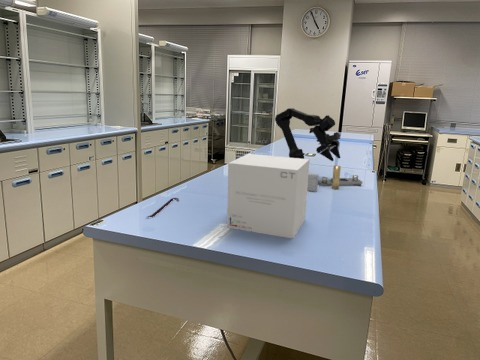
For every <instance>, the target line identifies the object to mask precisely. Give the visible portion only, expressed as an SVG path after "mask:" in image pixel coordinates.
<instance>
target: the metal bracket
mask: <svg viewBox="0 0 480 360" xmlns="http://www.w3.org/2000/svg"><path fill="white" fill-rule="evenodd" d="M332 179H333V177H331V178H330V179H328V177H327V176H321V180H320V179H318V185H319V186H321V187H327V186H328V187H332ZM362 184H363V181H362V180H361V179H359V175H357V174H353V175H352V177H340V180H339V187H340V186H341V187H353V186H358V187H360V186H362Z"/></svg>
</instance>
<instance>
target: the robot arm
mask: <svg viewBox="0 0 480 360" xmlns="http://www.w3.org/2000/svg"><path fill="white" fill-rule="evenodd" d="M293 118H295V119H298V120H300V121H302V122H304V124H305V125H307V126H308V127H309V134H313V135H314V136H315V138H316V142H317V143H319V144H320V145H319V146H317V148H316V149H315V150H316V153H317V154H319V155H321V156H323V157H324V158H326V159H327V160H329V161H331V162H334V157H333V155H334V156H335V157H336V158H337V159H341V155H340V151H339V147H340V143H341V142H340V141H339V140H341V134H340V133H339V132H338V131H337V132H334V133H333V134H332V135H330V134H329V133H326V132H327V131H329V130H331V129H332V128H333V127H335V125H336V121H335V120H334V119H333V118H332V117H331V116H330V115H325V116H324V117H323V118H322V117H321V116H319V115H317V114H309V113H305V112H303V111H300V110H297V109H295V108H292V107H291V108H290V107H289V108H287V109H286V110H284V111H281V112H279V113H277V114H276V115H275V118H274V121H275V123H276V125H277V126H278V127H279V128H280V129H281V131H282V134H283V136H284V140H285V141H286V145H287V147H288V150H289V152H288V157H289V158H300V159H305V153H304V150H303V149H302V148H299V147H298V146H297V143H296V140H295V137H294V135H293V133H292V130H291V127H290V126H291V125H290V124H291V119H293ZM332 154H333V155H332Z"/></svg>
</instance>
